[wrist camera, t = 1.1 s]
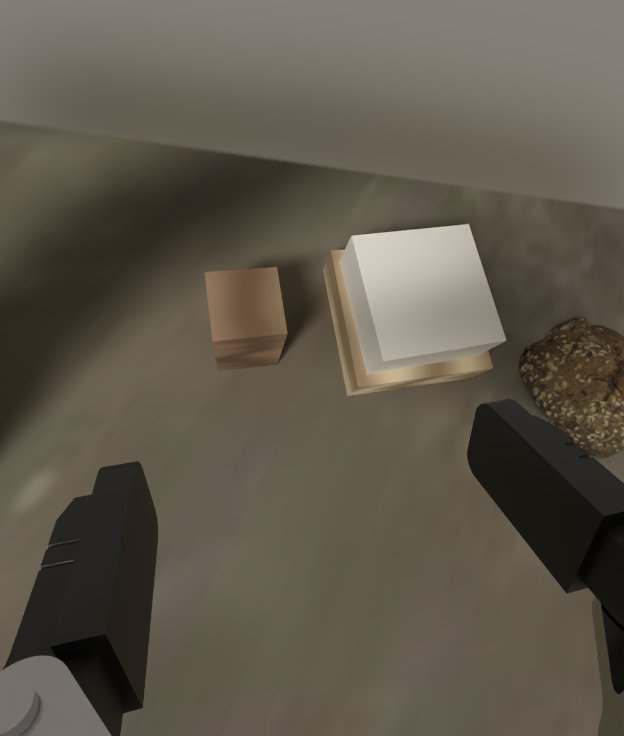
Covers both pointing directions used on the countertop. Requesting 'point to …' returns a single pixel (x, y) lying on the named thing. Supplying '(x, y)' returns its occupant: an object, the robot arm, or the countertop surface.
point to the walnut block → (246, 317)
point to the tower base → (352, 353)
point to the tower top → (419, 297)
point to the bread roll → (580, 384)
